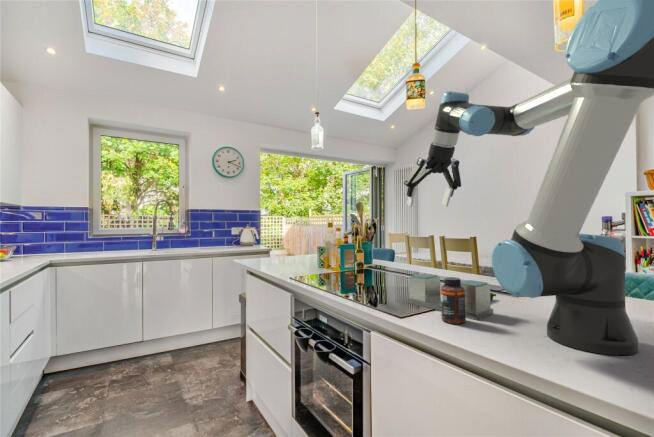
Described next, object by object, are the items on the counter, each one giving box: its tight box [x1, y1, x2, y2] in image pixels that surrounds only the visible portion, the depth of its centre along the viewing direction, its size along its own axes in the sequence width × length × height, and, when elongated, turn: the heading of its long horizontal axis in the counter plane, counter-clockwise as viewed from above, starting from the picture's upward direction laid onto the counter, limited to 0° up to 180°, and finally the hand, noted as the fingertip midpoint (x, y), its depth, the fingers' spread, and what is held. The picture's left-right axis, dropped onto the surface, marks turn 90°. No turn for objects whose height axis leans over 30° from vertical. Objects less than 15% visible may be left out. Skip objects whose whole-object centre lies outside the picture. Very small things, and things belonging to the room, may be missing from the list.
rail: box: [406, 273, 494, 321], centre depth 95 cm, size 23×9×9 cm, turn 37°
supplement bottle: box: [440, 276, 467, 325], centre depth 83 cm, size 6×6×11 cm
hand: (427, 205), depth 109 cm, fingers open, 13 cm apart
